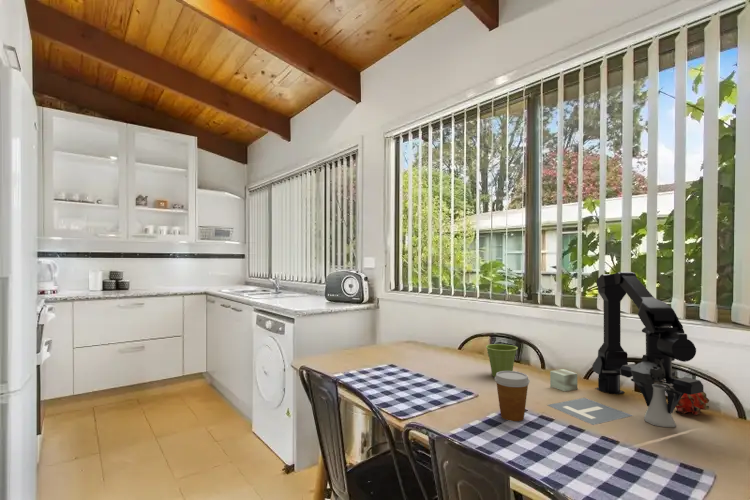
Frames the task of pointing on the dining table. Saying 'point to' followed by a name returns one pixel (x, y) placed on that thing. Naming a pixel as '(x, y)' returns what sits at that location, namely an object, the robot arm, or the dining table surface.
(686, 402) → the dragon fruit
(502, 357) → the plant pot
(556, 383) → the sage block
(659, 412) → the flask
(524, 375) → the disposable coffee cup
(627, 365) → the robot arm
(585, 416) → the board
